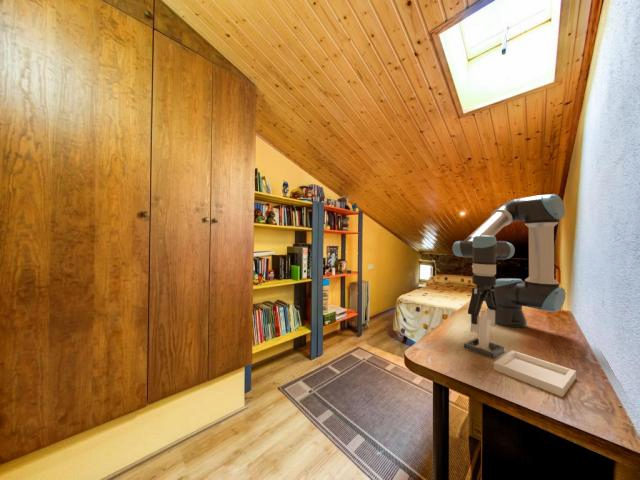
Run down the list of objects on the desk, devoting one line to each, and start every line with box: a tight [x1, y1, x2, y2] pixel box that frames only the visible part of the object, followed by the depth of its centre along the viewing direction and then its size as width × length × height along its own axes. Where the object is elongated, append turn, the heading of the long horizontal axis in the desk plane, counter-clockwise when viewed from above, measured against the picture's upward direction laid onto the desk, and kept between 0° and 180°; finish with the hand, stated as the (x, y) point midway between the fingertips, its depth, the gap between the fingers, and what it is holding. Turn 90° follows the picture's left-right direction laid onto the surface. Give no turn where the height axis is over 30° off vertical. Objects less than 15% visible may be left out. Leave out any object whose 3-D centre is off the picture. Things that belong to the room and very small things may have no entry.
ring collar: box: [463, 337, 505, 360], centre depth 90 cm, size 10×10×2 cm
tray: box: [493, 350, 577, 398], centre depth 74 cm, size 16×16×2 cm
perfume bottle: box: [477, 310, 491, 351], centre depth 90 cm, size 5×4×15 cm
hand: (483, 329), depth 90 cm, fingers open, 13 cm apart
